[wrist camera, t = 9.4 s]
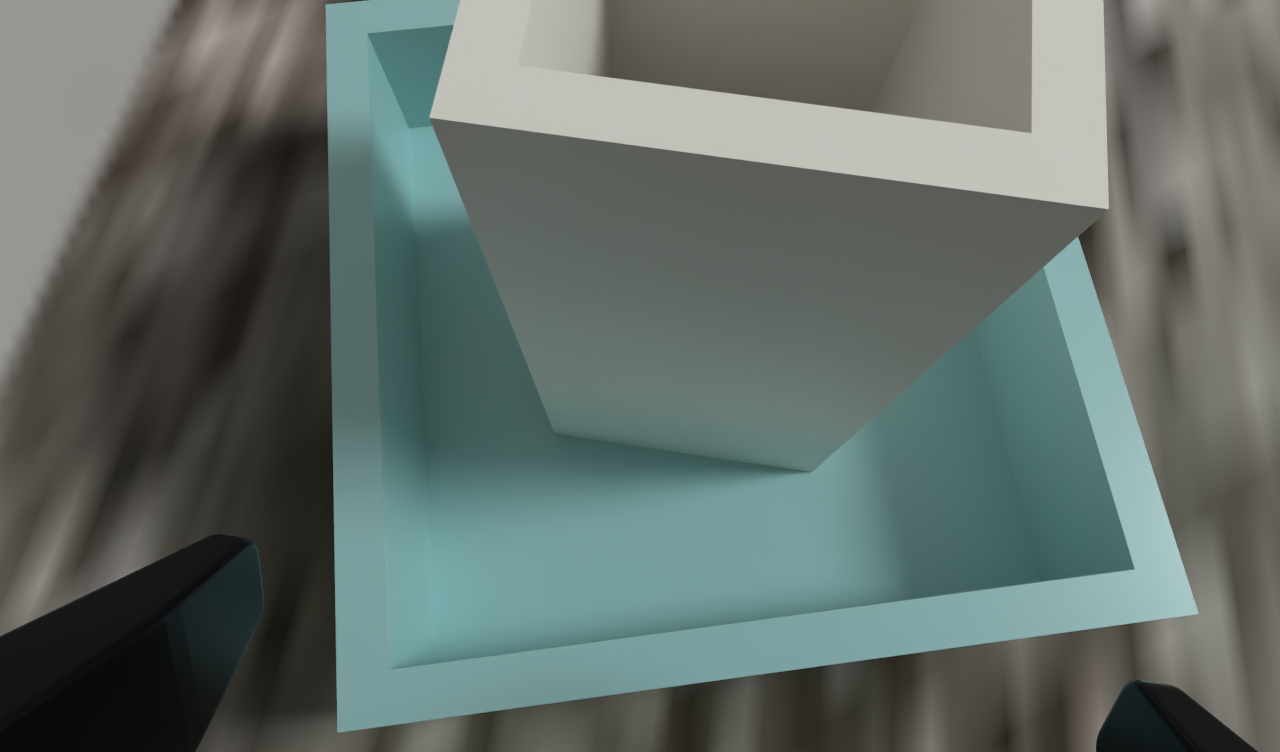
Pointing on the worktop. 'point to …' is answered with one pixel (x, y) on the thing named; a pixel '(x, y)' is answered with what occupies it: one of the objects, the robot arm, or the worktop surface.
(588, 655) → the crate
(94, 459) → the worktop surface
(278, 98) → the worktop surface
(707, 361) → the white hollow square box
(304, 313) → the worktop surface
